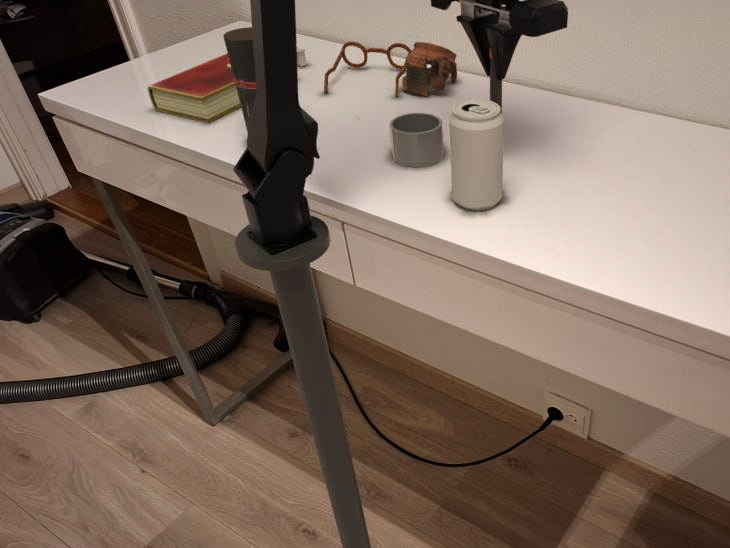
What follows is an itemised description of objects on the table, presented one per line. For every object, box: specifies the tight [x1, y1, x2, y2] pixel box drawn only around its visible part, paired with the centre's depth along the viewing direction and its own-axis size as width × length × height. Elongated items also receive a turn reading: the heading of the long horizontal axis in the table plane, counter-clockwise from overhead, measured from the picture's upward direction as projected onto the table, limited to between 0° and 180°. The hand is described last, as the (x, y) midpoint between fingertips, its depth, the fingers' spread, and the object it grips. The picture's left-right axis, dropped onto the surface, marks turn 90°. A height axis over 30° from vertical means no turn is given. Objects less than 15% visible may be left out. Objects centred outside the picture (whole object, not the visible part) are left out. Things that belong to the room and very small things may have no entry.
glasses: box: [323, 41, 412, 98], centre depth 116 cm, size 13×13×5 cm
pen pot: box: [388, 112, 445, 168], centre depth 94 cm, size 7×7×5 cm
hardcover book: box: [147, 53, 242, 124], centre depth 113 cm, size 12×21×4 cm, turn 152°
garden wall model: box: [297, 47, 307, 67], centre depth 125 cm, size 12×2×6 cm, turn 50°
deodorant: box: [222, 26, 256, 133], centre depth 95 cm, size 6×6×15 cm
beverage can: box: [448, 98, 505, 211], centre depth 82 cm, size 6×6×12 cm
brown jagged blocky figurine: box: [401, 41, 458, 97], centre depth 114 cm, size 12×10×8 cm
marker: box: [489, 49, 503, 115], centre depth 87 cm, size 2×2×9 cm
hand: (495, 77), depth 87 cm, fingers closed on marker, 2 cm apart
